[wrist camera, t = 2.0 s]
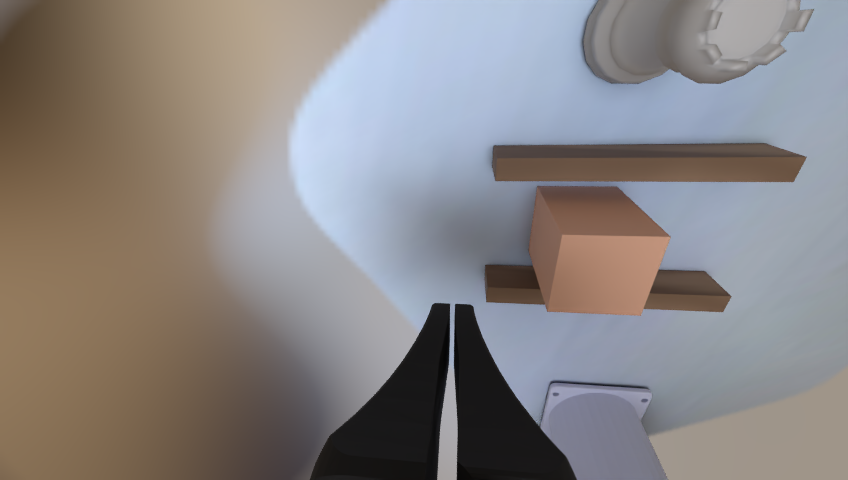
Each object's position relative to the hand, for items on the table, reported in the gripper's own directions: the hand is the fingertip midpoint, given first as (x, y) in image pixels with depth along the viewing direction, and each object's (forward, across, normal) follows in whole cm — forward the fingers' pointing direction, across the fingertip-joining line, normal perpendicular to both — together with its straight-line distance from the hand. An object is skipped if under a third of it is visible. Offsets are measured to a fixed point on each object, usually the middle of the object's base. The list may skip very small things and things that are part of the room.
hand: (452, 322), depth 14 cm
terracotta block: (+10, -7, 0) cm, 12 cm away
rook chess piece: (+10, -8, -10) cm, 16 cm away
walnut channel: (+9, -9, 0) cm, 13 cm away
